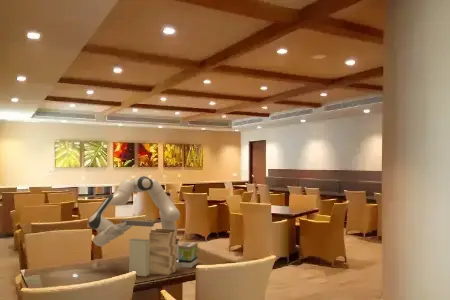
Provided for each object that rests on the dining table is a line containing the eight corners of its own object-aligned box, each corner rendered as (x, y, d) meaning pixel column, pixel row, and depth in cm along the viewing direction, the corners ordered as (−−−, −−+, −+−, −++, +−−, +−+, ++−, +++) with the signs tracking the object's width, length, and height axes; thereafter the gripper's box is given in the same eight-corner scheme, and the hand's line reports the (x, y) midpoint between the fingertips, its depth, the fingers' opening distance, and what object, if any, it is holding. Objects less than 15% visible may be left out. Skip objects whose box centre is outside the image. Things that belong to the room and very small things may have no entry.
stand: (157, 269, 273) (157, 228, 274) (175, 271, 268) (175, 229, 269) (149, 273, 264) (149, 230, 265) (168, 275, 259) (168, 231, 260)
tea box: (192, 268, 276) (191, 246, 277) (177, 267, 278) (177, 245, 279) (197, 263, 291) (197, 242, 292) (184, 262, 293) (184, 241, 294)
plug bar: (124, 224, 267) (124, 219, 268) (153, 226, 259) (153, 221, 259) (121, 225, 265) (121, 220, 265) (151, 226, 256) (151, 222, 256)
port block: (133, 273, 264) (133, 238, 265) (149, 274, 260) (149, 239, 261) (129, 274, 260) (129, 239, 261) (145, 276, 256) (145, 240, 257)
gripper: (101, 229, 260) (116, 219, 256) (120, 225, 279) (135, 216, 275) (105, 238, 258) (120, 228, 254) (124, 233, 277) (139, 224, 273)
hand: (128, 222), depth 265 cm, fingers closed on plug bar, 3 cm apart
